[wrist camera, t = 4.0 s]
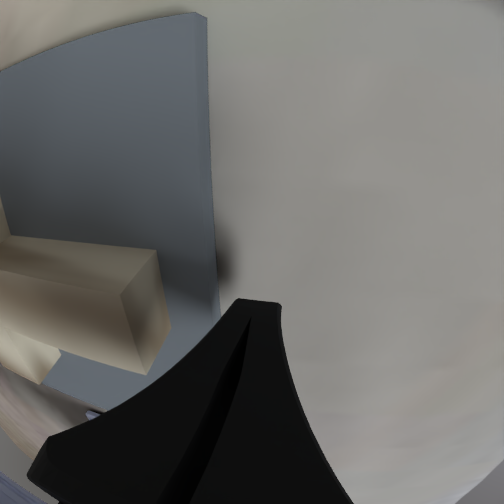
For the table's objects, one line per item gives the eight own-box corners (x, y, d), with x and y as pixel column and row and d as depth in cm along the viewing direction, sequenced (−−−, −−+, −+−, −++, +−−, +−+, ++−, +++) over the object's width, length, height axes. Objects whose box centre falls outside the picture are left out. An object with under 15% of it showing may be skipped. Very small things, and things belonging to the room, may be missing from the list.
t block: (186, 390, 14) (170, 432, 12) (24, 340, 16) (3, 366, 14) (140, 120, 8) (88, 138, 6) (-42, 155, 10) (-78, 174, 8)
